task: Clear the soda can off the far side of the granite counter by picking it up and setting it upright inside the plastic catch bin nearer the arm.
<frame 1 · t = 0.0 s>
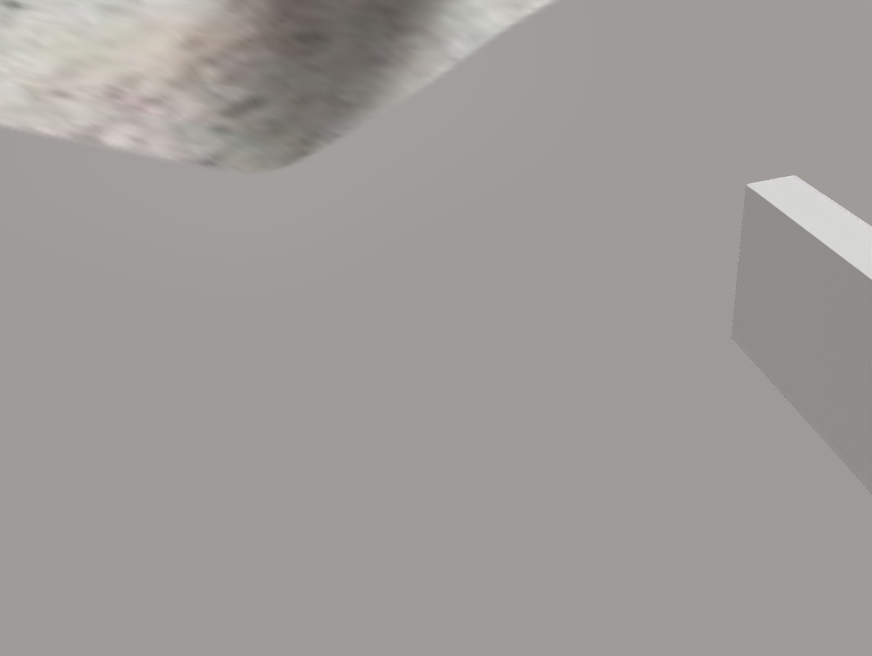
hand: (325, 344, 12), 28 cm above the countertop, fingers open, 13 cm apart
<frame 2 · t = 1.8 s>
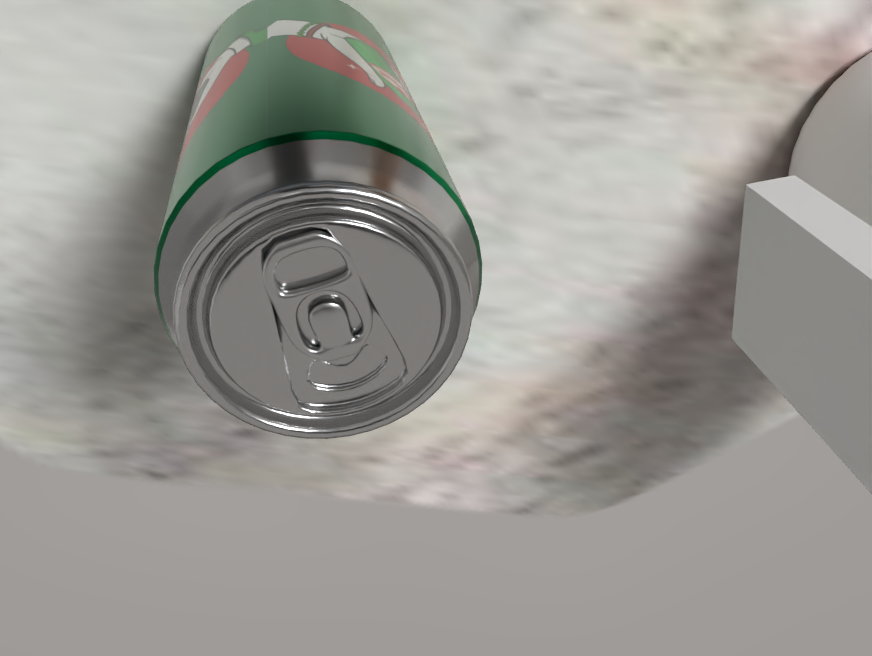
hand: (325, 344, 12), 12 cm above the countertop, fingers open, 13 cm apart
soda can: (300, 84, 22), on the countertop
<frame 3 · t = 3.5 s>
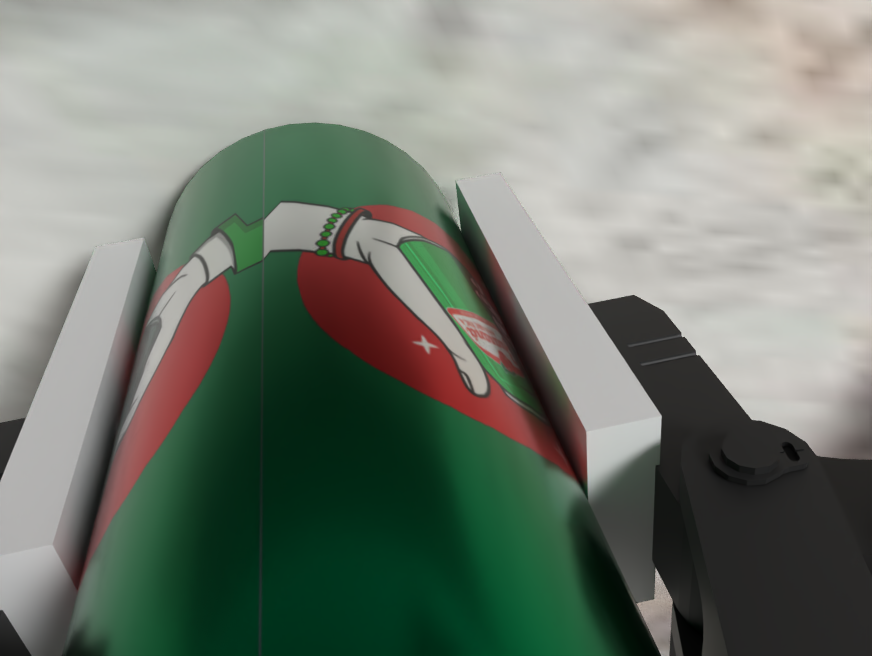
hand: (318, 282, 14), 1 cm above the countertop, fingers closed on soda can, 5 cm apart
soda can: (314, 244, 15), on the countertop, touching gripper
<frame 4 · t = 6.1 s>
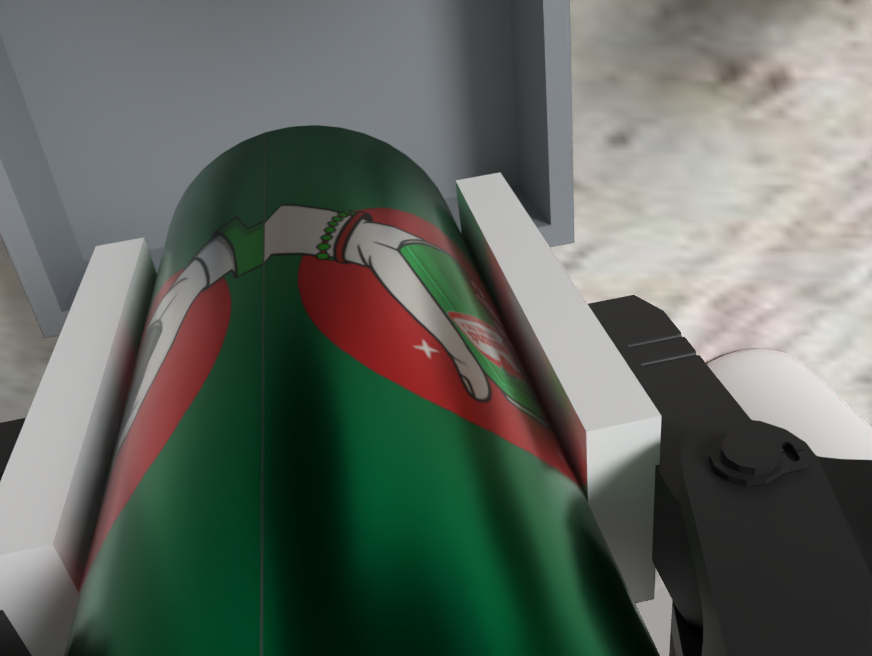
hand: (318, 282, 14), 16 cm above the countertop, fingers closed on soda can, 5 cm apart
catch bin: (273, 50, 27), on the countertop
milk bottle: (730, 409, 39), on the countertop
soda can: (314, 246, 15), point 15 cm above the countertop, touching gripper
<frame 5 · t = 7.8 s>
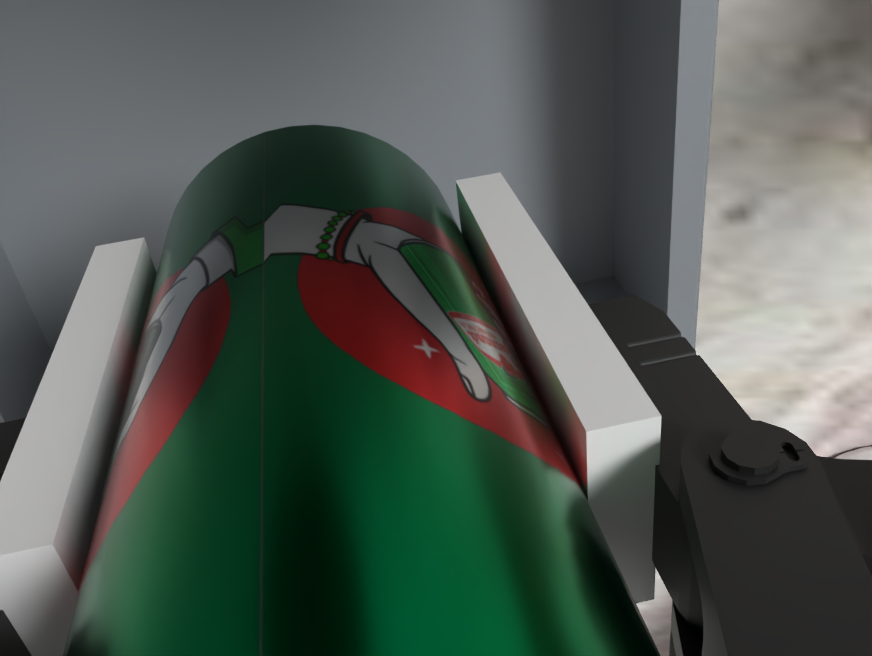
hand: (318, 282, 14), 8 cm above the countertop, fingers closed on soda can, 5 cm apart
catch bin: (303, 120, 21), on the countertop
milk bottle: (843, 508, 33), on the countertop
soda can: (314, 246, 15), point 7 cm above the countertop, touching gripper
when the fingers open (4 cm above the countertop, at t = 9.0 s): soda can drops 2 cm, resting on catch bin.
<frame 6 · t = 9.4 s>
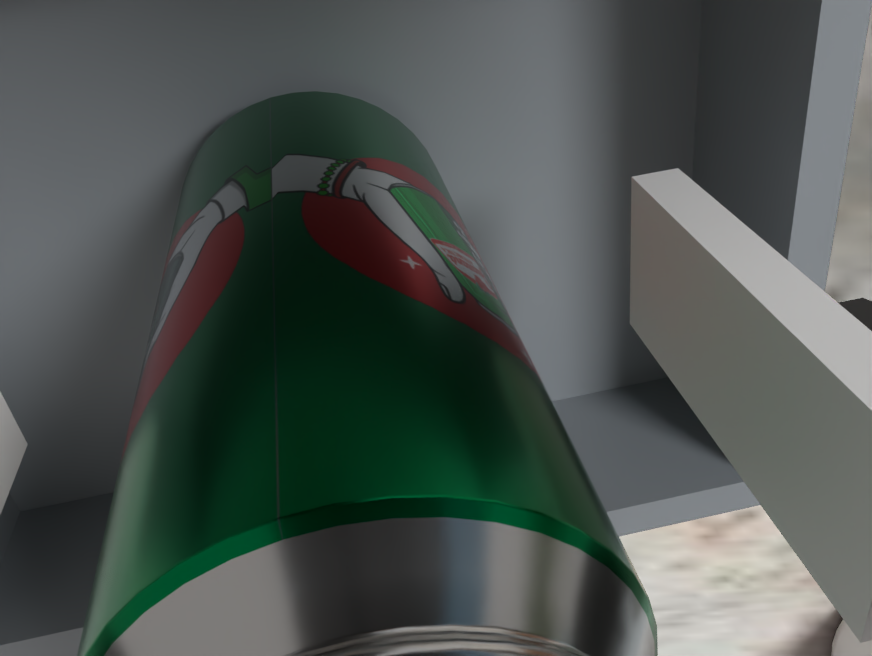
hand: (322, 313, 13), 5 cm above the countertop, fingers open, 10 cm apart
catch bin: (309, 200, 17), on the countertop
soda can: (314, 206, 16), resting on catch bin
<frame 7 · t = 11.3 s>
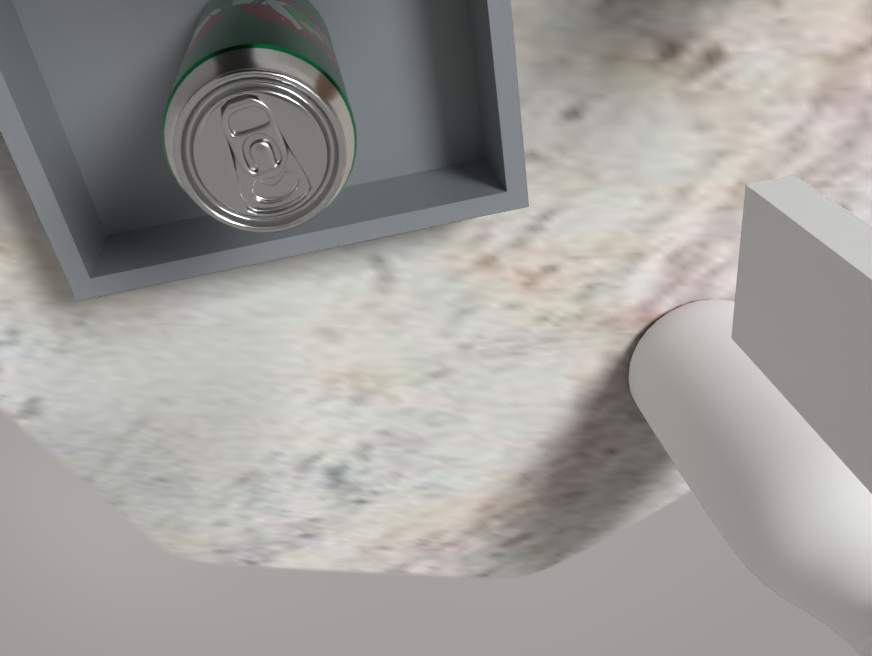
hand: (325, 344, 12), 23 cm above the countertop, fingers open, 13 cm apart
catch bin: (262, 47, 31), on the countertop
milk bottle: (691, 355, 43), on the countertop
soda can: (264, 48, 31), resting on catch bin
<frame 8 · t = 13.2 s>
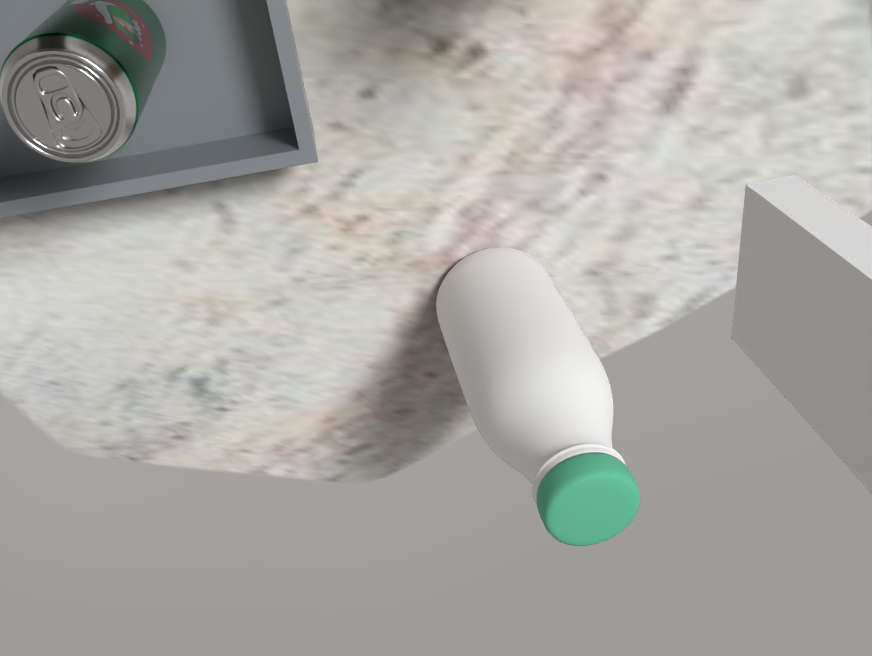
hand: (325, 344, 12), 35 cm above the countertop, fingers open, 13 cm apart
catch bin: (114, 35, 41), on the countertop
milk bottle: (491, 294, 53), on the countertop
soda can: (115, 36, 41), resting on catch bin
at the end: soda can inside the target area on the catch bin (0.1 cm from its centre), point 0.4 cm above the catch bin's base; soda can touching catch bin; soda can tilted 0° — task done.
